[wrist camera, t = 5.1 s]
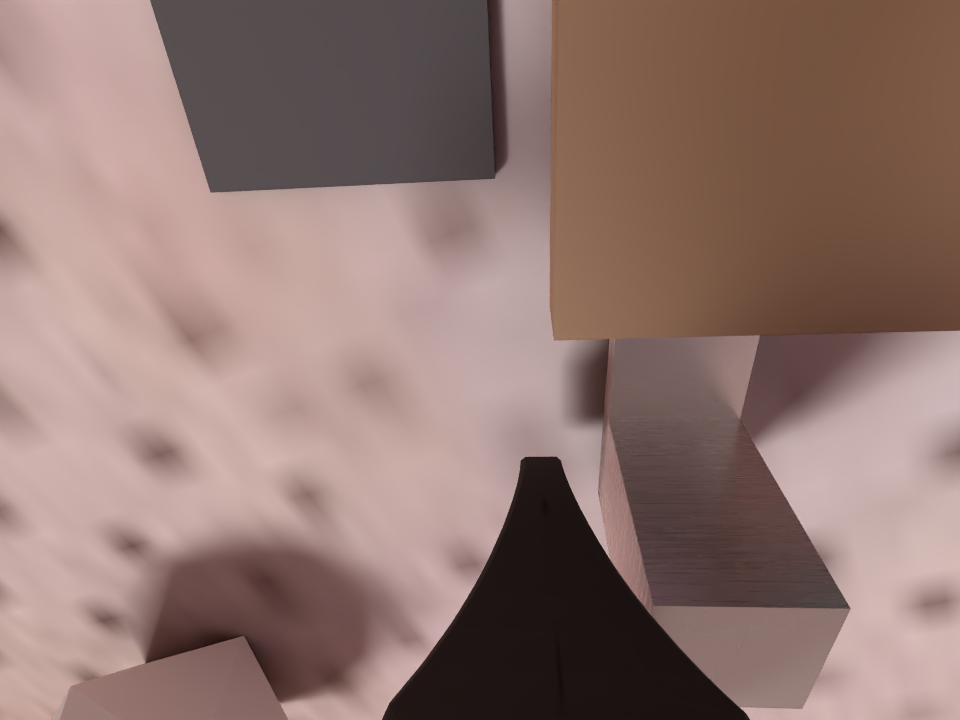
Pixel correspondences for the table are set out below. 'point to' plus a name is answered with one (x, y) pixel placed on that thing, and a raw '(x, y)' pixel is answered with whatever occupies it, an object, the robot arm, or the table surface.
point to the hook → (711, 521)
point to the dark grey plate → (333, 90)
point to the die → (180, 689)
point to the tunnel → (754, 167)
